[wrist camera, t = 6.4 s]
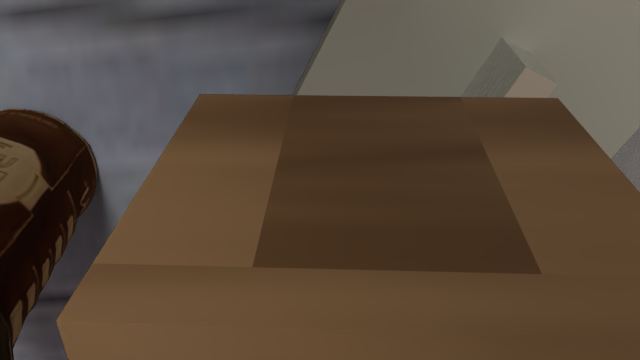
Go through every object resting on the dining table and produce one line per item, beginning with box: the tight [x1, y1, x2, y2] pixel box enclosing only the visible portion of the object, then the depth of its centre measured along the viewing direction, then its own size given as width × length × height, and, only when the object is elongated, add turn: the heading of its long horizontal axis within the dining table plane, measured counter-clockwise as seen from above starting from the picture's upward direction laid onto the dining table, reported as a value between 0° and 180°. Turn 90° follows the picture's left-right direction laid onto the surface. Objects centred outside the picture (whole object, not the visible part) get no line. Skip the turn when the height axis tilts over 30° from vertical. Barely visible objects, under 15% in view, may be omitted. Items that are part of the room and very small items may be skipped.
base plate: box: [293, 0, 640, 159], centre depth 24 cm, size 14×18×2 cm
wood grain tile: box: [461, 37, 558, 98], centre depth 22 cm, size 1×4×4 cm, turn 153°
